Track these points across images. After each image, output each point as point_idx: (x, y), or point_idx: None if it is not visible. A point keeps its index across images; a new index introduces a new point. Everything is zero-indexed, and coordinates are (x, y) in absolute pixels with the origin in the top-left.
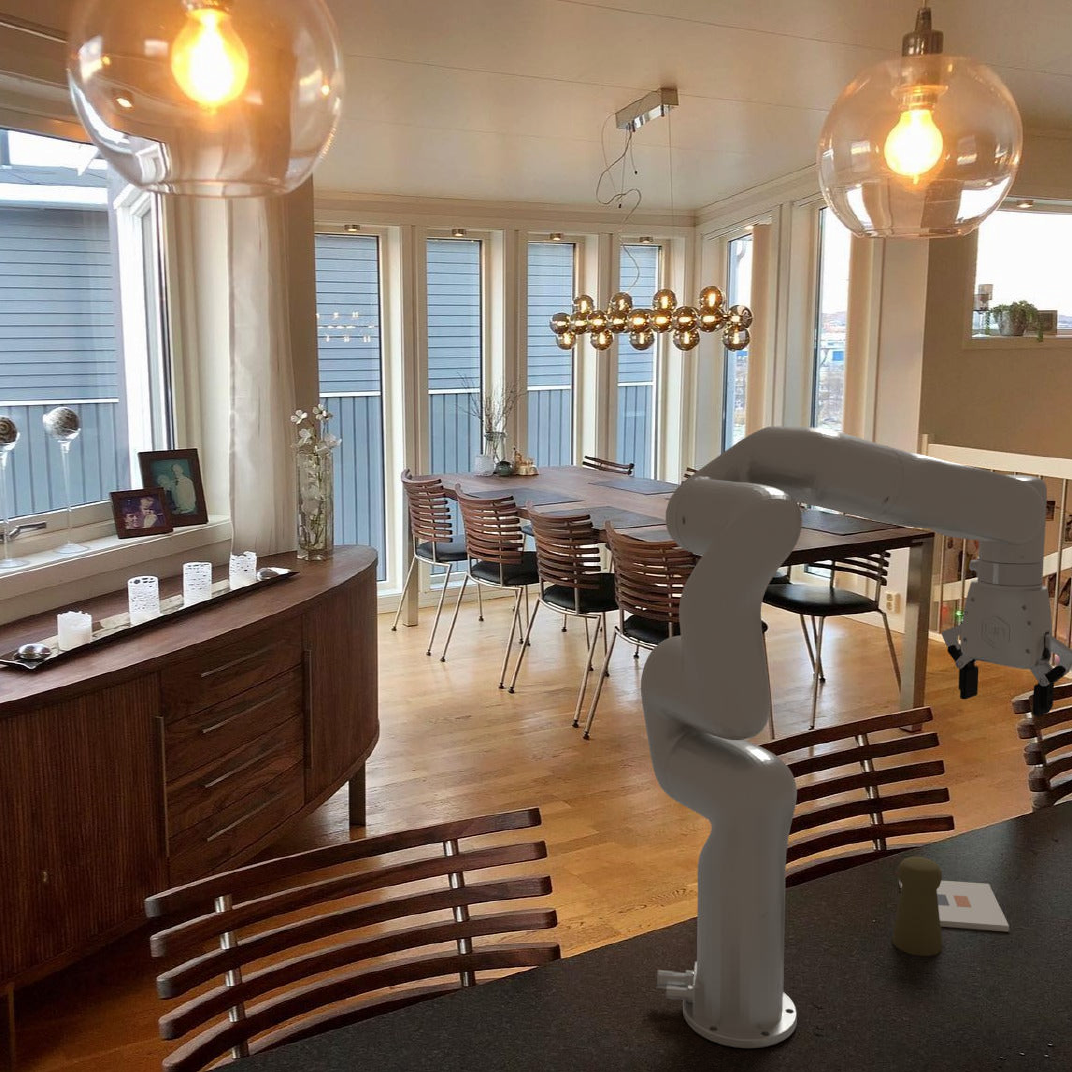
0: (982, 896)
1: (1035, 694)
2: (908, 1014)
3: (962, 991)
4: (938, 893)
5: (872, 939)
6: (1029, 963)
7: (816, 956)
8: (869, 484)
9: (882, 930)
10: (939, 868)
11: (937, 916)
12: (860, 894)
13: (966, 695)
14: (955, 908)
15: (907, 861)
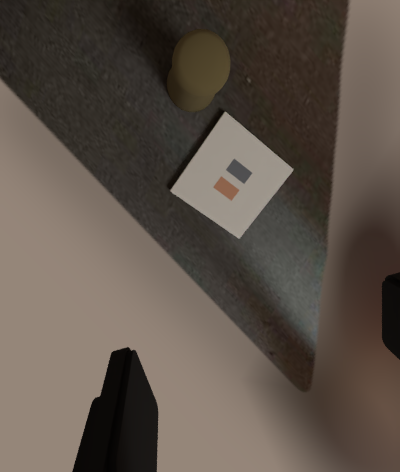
0: (224, 214)
1: (106, 423)
2: None
3: (98, 49)
4: (249, 180)
5: None
6: (117, 159)
7: None
8: None
9: None
10: (183, 81)
11: (174, 86)
12: (295, 112)
13: (392, 290)
14: (219, 170)
15: (214, 43)
